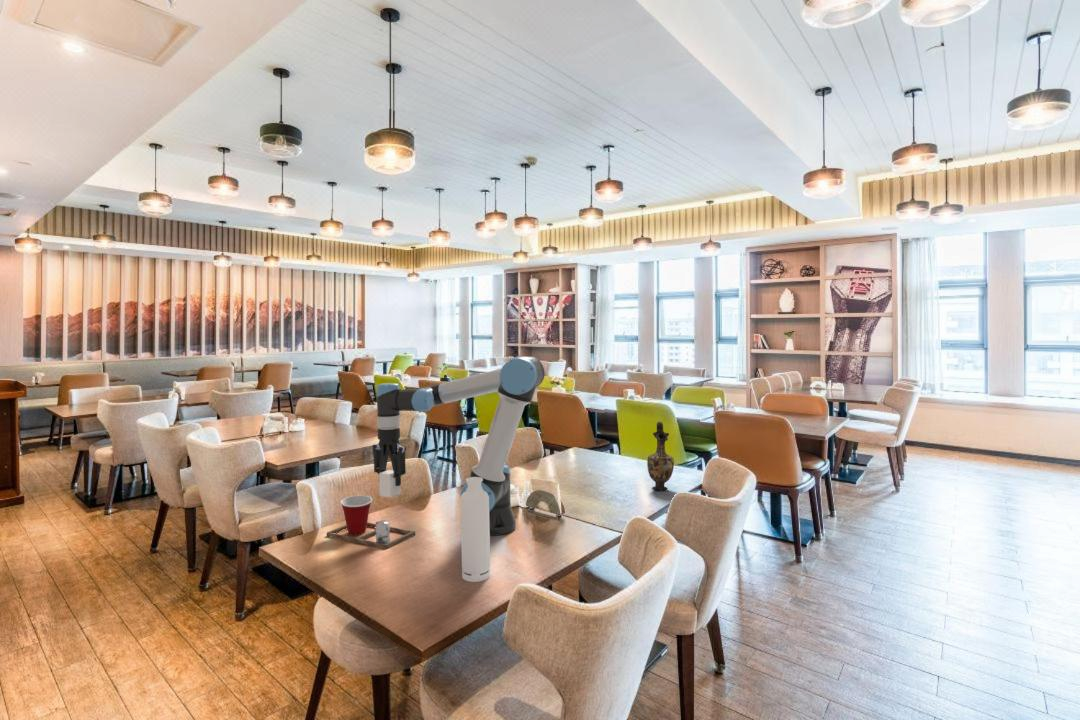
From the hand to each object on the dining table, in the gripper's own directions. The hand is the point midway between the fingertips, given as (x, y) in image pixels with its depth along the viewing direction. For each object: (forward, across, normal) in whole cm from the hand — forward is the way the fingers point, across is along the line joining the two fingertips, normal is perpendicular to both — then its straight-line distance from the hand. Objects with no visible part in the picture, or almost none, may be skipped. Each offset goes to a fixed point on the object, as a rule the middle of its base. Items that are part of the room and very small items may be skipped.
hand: (390, 493), depth 184 cm
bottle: (+15, -46, +13) cm, 50 cm away
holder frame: (+15, +7, +3) cm, 17 cm away
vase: (+15, -69, -97) cm, 120 cm away
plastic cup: (+15, +13, +3) cm, 20 cm away
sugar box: (0, 0, 0) cm, 0 cm away
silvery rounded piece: (+15, -2, +6) cm, 16 cm away
